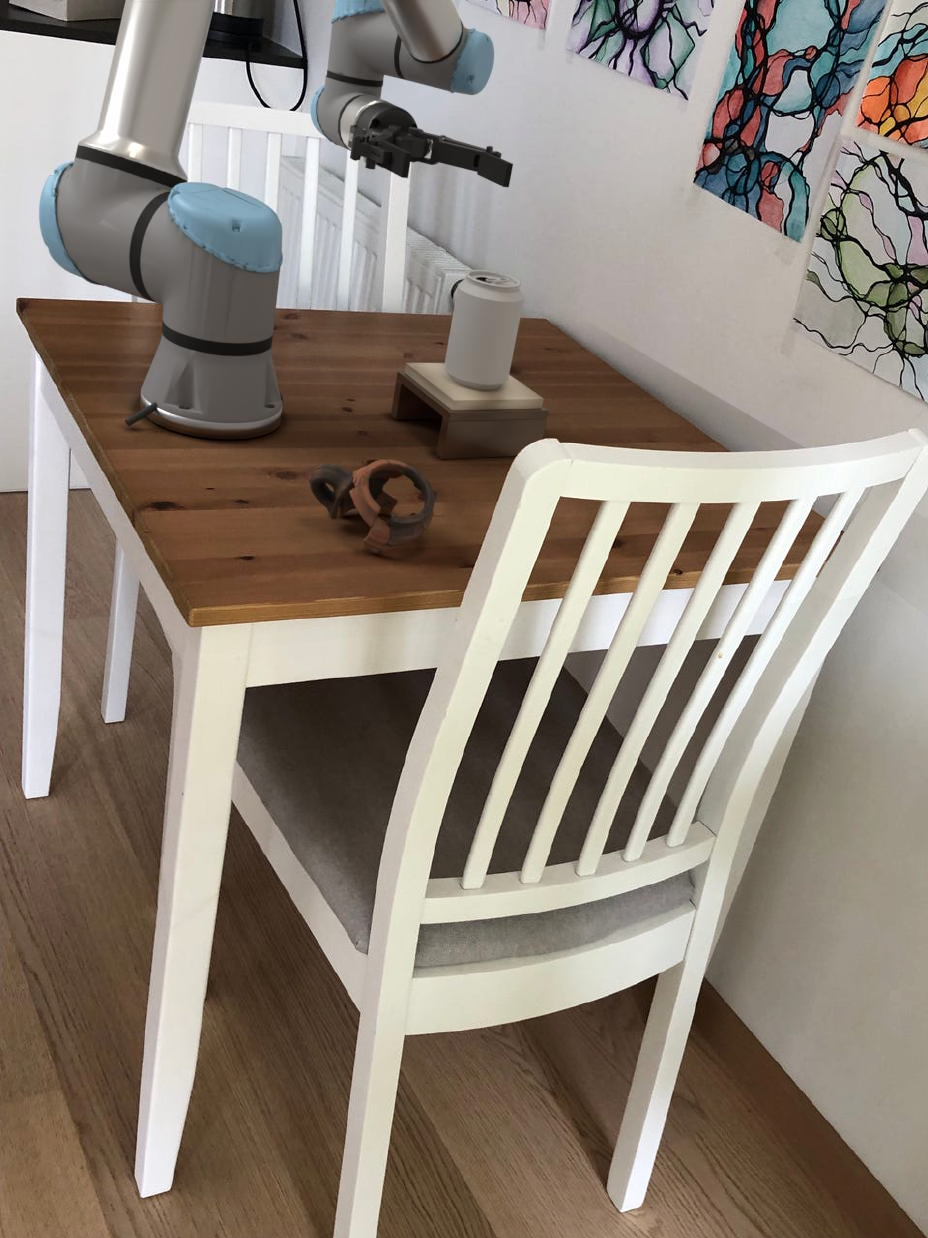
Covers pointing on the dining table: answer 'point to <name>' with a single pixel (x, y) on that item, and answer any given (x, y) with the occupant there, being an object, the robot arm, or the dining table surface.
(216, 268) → the robot arm
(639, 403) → the dining table surface
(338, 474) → the broken clay pot
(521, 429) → the bench
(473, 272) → the can
